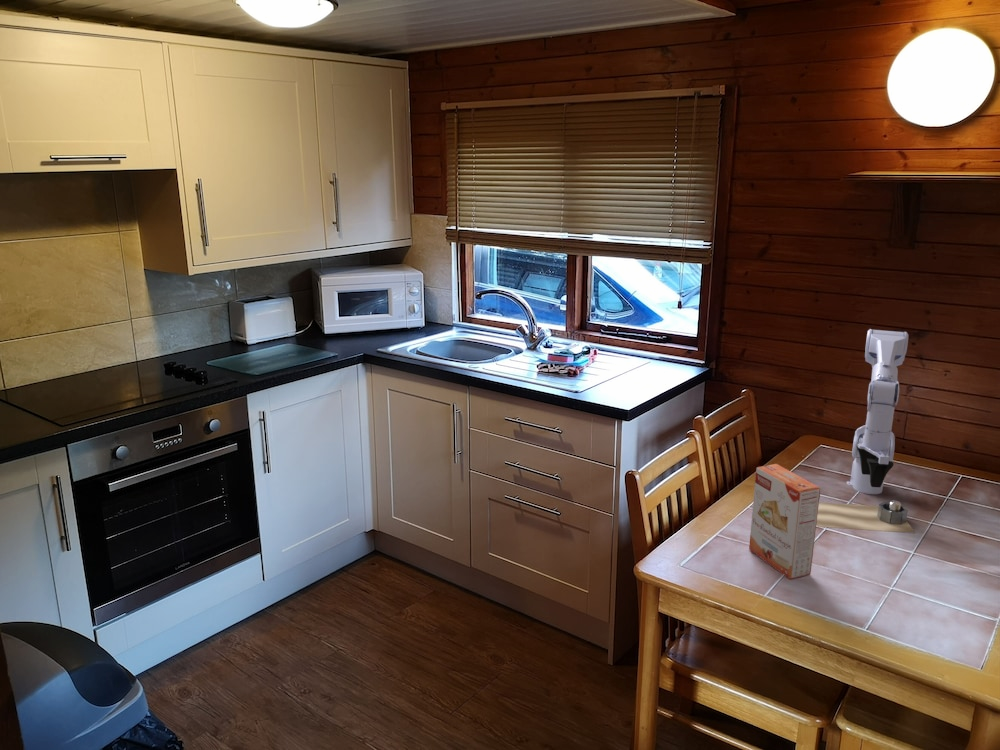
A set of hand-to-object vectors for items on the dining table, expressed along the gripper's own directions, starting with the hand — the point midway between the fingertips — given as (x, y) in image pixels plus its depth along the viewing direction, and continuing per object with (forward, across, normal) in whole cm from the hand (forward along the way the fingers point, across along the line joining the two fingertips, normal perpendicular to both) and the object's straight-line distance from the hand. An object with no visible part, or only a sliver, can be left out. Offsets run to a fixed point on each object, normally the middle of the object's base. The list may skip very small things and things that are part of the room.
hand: (870, 480), depth 192 cm
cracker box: (+10, +28, -26) cm, 39 cm away
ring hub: (+8, +4, +5) cm, 10 cm away
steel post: (+8, +4, +5) cm, 10 cm away
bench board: (+9, +4, -3) cm, 11 cm away
